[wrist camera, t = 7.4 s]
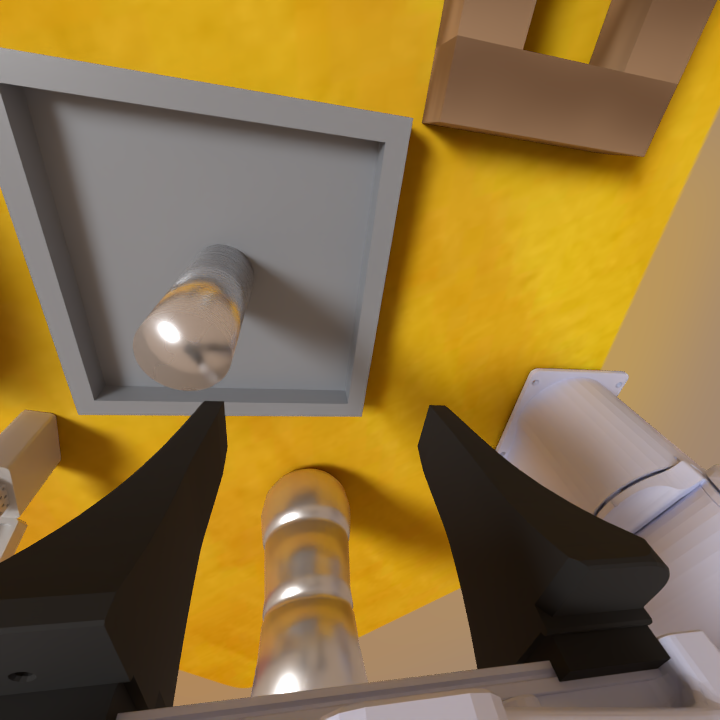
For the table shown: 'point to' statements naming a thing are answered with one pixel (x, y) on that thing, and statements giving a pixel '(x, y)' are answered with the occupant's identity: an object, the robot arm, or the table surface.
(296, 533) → the plastic bottle
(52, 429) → the lighter
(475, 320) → the table surface
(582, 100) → the block
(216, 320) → the steel pin
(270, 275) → the tray
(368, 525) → the table surface
